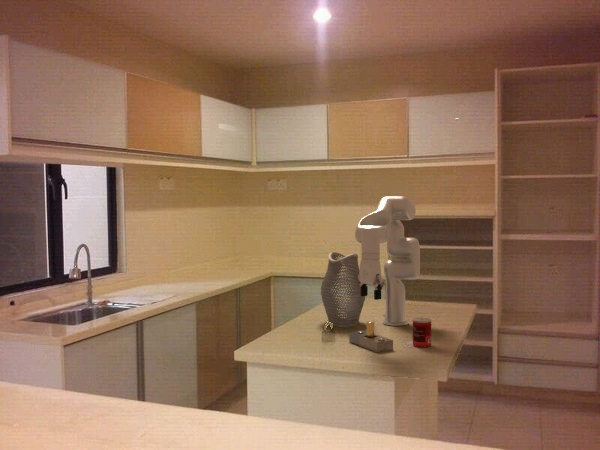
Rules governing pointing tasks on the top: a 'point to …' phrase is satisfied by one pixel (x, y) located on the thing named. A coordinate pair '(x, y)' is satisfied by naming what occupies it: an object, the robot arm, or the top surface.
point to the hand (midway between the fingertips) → (370, 297)
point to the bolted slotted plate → (371, 341)
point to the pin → (370, 329)
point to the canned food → (422, 332)
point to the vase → (329, 297)
